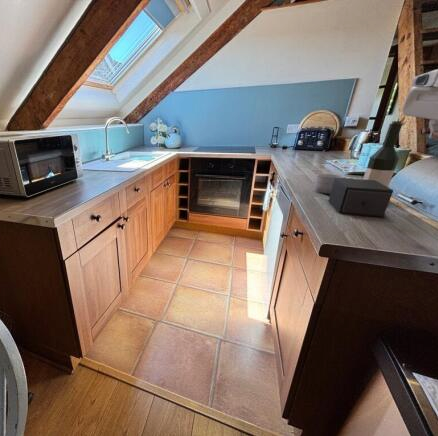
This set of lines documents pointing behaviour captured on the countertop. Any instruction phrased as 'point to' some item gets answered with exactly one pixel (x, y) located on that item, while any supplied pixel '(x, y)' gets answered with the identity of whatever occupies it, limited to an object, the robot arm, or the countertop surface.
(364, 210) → the drawer
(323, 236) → the countertop surface
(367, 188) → the dark grey drawer box
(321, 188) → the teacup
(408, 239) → the countertop surface
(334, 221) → the countertop surface
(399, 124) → the wine bottle
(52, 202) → the countertop surface
